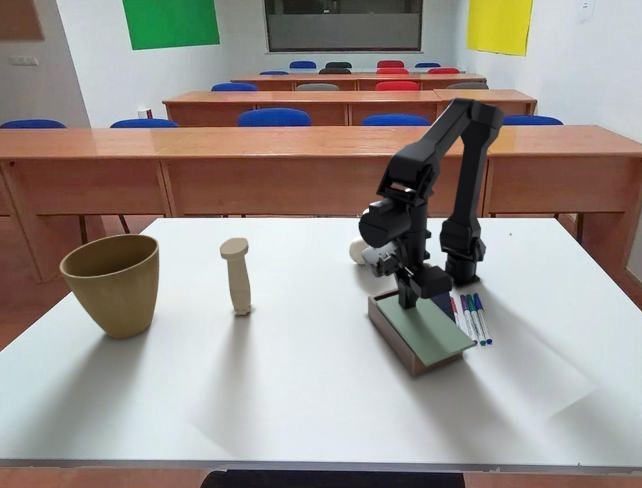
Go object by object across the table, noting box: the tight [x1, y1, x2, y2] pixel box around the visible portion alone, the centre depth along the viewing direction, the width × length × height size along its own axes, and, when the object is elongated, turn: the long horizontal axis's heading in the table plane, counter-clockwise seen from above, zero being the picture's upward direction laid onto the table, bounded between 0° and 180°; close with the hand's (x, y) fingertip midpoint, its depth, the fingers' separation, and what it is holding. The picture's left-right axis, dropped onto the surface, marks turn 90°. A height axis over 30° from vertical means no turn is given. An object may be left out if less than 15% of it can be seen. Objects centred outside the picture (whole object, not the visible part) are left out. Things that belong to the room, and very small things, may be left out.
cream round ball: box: [348, 235, 370, 265], centre depth 96 cm, size 7×7×7 cm
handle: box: [219, 237, 252, 316], centre depth 77 cm, size 5×6×15 cm
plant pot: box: [59, 233, 160, 340], centre depth 73 cm, size 15×15×16 cm
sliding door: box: [376, 280, 477, 366], centre depth 68 cm, size 10×17×6 cm, turn 27°
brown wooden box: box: [367, 287, 464, 377], centre depth 72 cm, size 10×17×4 cm, turn 27°
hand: (407, 301), depth 73 cm, fingers closed on sliding door, 2 cm apart
